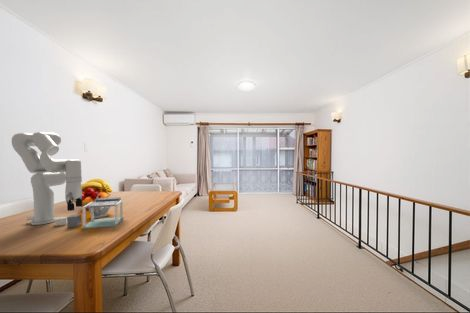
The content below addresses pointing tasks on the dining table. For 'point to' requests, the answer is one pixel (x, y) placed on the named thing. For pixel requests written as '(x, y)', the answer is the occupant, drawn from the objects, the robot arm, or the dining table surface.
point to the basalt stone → (74, 220)
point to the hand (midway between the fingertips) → (75, 208)
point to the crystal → (100, 211)
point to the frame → (102, 222)
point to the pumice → (61, 221)
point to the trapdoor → (105, 202)
